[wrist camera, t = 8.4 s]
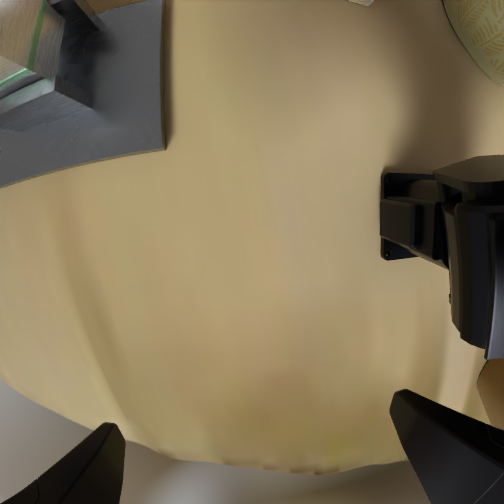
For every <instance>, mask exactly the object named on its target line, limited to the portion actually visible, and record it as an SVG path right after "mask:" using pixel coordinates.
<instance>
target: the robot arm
mask: <svg viewBox="0 0 504 504" xmlns="http://www.w3.org/2000/svg"><path fill="white" fill-rule="evenodd" d="M387 177H388V178H389V182H387V180H386V179H387ZM380 235H381V257H382V258H383V259H385V260H388V261H389V260H396V259H404V258H412V257H421V258H424V259H426V260H428V261H430V262H432V263H435V264H437V265H439V266H441V267H443V268H445V269H447V270H449V278H450V294H449V303H450V304H451V315H452V322H453V323H454V325H455V326H456V328H457V329H458V331H459V332H460V337H461V339H463V340H464V341H466V342H467V343H469V344H471V345H474V346H476V347H479V348H482V349H485V355H484V358H485V359H487V360H489V359H498V358H504V155H489V156H477V157H473V158H470V159H467V160H464V161H461V162H458V163H455V164H452V165H450V166H447V167H444V168H441V169H438V170H435V171H433V175H426V174H406V173H384V174H383V175H382V176H381V202H380ZM387 251H389V254H388V255H387V256H386V252H387ZM390 415H391V418H392V421H393V423H394V426H395V428H396V431H397V434H398V436H399V439H400V442H401V444H402V447H403V449H404V451H405V453H406V455H407V457H408V459H409V461H410V463H411V465H412V467H413V468H414V470H415V472H416V474H417V476H418V478H419V480H420V482H421V484H422V486H423V488H424V490H425V492H426V494H427V496H428V498H429V500H430V502H431V504H504V430H502V429H499V428H496V427H493V426H491V425H488V424H485V423H483V422H481V421H478V420H476V419H474V418H471V417H469V416H466V415H464V414H462V413H459V412H457V411H455V410H452V409H450V408H448V407H445V406H443V405H441V404H439V403H436V402H434V401H432V400H430V399H428V398H425V397H423V396H421V395H419V394H417V393H415V392H412V391H410V390H408V389H402V390H399V391H396V392H395V393H394V395H393V399H392V402H391V406H390ZM125 445H126V444H125V439H124V437H123V435H122V433H121V431H120V430H119V428H118V426H117V425H116V424H115V423H108V422H105V423H103V424H101V425H100V426H99V427H98V428H97V429H96V430H94V431H93V432H92V433H91V434H90V435H89V436H88V437H86V438H85V439H84V440H83V441H82V442H81V443H79V444H78V445H77V446H76V447H75V448H73V449H72V450H71V451H70V452H69V453H68V454H66V455H65V456H64V457H63V458H61V459H60V460H59V461H58V462H57V463H55V464H54V465H53V466H52V467H51V468H49V469H48V470H47V471H46V472H44V473H43V474H42V475H41V476H40V477H38V479H36V480H34V481H33V482H32V483H31V484H30V485H28V486H27V487H25V488H24V489H23V490H22V491H20V492H18V493H17V494H15V495H14V496H12V497H11V498H9V499H7V500H6V501H4V502H2V503H0V504H119V502H120V495H121V490H122V484H123V473H124V457H125Z"/></svg>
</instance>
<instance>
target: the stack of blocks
mask: <svg viewBox="0 0 504 504" xmlns="http://www.w3.org/2000/svg"><path fill="white" fill-rule="evenodd" d="M349 1H352V2H355V3H357V4H360V5H363V6H367V7H368V6H369V5H370V4H371V3H372V2H373V1H374V0H349Z"/></svg>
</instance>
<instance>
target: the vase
mask: <svg viewBox="0 0 504 504" xmlns="http://www.w3.org/2000/svg"><path fill="white" fill-rule="evenodd" d="M443 3H444V7H445V10H446V13H447V16H448V18H449V20H450V23H451V25H452V27H453V28H454V30H455V32H456V34H457V36H458V37H459V39H460V41H461V42H462V44H463V45H464V47H465V49H466V50H467V51H468V53H469V54H470V56H471V57H472V58H473V60H474V61H475V62H476V63H477V65H478V66H479V67H480V68H481V69H482V70H483V71H484V72H485V73H486V74H487V75H488V76H489V77H490V78H491V79H492V80H493V81H495V82H496V83H498V84H499V85H501V86H503V87H504V0H443Z"/></svg>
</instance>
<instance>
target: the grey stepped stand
mask: <svg viewBox="0 0 504 504" xmlns="http://www.w3.org/2000/svg"><path fill="white" fill-rule="evenodd" d="M46 1H47V2H48V4H49V5H50V6H51V7H52V8H53V9H54V10H55V11H56V12H57V13H59V14H60V15H61V16H62V17H63V18H64V19H65V20H66V22H65V26H64V31H63V37H62V42H61V48H60V55H59V62H58V70H57V75H56V74H55V75H52V76H50V77H47V78H45V79H43V80H40V81H38V82H36V83H33V84H31V85H29V86H27V87H25V88H23V89H21V90H18V91H16V92H14V93H12V94H10V95H9V96H7V97H5V98H3V99H1V100H0V188H3V187H6V186H9V185H12V184H15V183H18V182H22V181H25V180H28V179H31V178H35V177H38V176H42V175H45V174H49V173H53V172H57V171H60V170H64V169H68V168H73V167H77V166H81V165H85V164H90V163H95V162H99V161H104V160H109V159H114V158H120V157H125V156H131V155H137V154H143V153H149V152H156V151H163V150H166V145H165V125H164V93H163V47H164V18H165V3H164V0H146V1H142V2H137V3H133V4H129V5H125V6H121V7H118V8H114V9H111V10H107V11H104V12H101V13H98V14H96V13H95V12H94V11H93V9H92V8H91V7H90V6H89V4H88V3H87V2H86V1H85V0H46Z"/></svg>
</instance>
